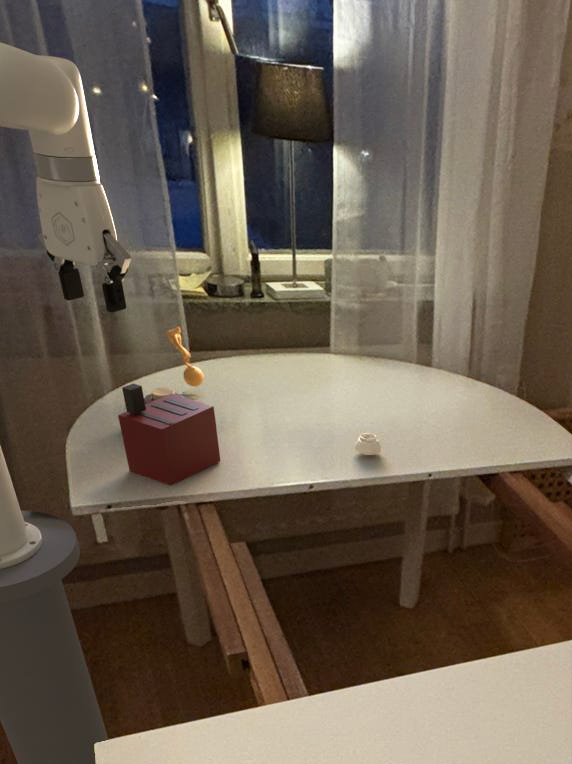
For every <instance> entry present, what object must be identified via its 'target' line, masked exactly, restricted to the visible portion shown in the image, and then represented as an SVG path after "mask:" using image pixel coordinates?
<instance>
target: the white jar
mask: <svg viewBox="0 0 572 764" xmlns="http://www.w3.org/2000/svg"><path fill="white" fill-rule="evenodd" d="M353 448H354V450H355V452H357V453H359V454H361V455H364V456H365V455H367V456H371V455H377V454H379V453H381V452H382V449H383V447H382V445H381V443H380V441H379V439H378V437H377V435H376V434H374V433H372V432H364V433H360V434H359V437H358V438H357V440H356V442H355V444H354V447H353Z"/></svg>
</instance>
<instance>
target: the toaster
mask: <svg viewBox="0 0 572 764" xmlns="http://www.w3.org/2000/svg"><path fill="white" fill-rule="evenodd" d="M182 396H183V395H182ZM182 396H179V395H176V394H169V395H167V396H164V397H162V398H159V399H157V400H154V401H152V402H149V403H147V404H145V407H146V410H145V411H142V412H140V413H138V414H132V413H129V412H127V411H125V412H122V413H120V414H118V416H117V417H118V421H119V427H120V432H121V436H122V441H123V447H124V452H125V455H126V460H127V466H128V471H129V473H131V474H135V475H138V476H141V477H144V478H146V477H147V479H149V478H150V479H149V480H153V481H155V482H159V483H162V484H163V485H164V484H165V485H167V486H170V487H173V486H175V485H176V484H178V483H181V482H182V481H185V480H186V479H189V478H190V477H193V476H195V475H197V474H199V473H200V472H202V471H204V470H207V469H208V468H210V467H211V466H214V465H216V464H217V463H220V462H221V453H220V445H219V438H218V431H217V422H216V415H215V407H214V406H213V405H211V404H208V403H204V402H201V401H198V400H195V399H192V398H188V397H185V396H183V397H182Z"/></svg>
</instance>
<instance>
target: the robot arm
mask: <svg viewBox="0 0 572 764" xmlns="http://www.w3.org/2000/svg"><path fill="white" fill-rule="evenodd" d="M89 119H90V118H89V114H88V109H87V102H86V97H85V93H84V87H83V82H82V77H81V73H80V70H79V68H78V67H77V65H76V64H75V63H74V62H73V61H71V60H70V59H67V58H64V57H59V56H50V55H41V54H40V55H39V54H34V53H31V52H29V51H26V50H23V49H21V48H18V47H16V46H12V45H10V44H7V43H3V42H1V41H0V127H2V128H9V129H13V130H22V131H28V134H29V138H30V143H31V148H32V151H33V156H34V160H35V161H34V162H35V165H36V170H37V174H38V176H37V177H35V178H36V181H35V182H36V183H35V184H36V199H37V200H36V201H37V209H38V215H39V221H40V227H41V231H40V233H38V235H37V236H38V240H39V241H40V243H41V244H42V246H43V248H44V249H45V250H46V254H47V256H48V257H49V259H50V260H51V261H52V262H53V264H52V265H53V268H54V270H55V271H57V273H58V277H59V283H60V287H61V291H62V295H63V299H64V300H65V301H73V300H78V299H80V298H81V299H82V298H84V296H85V293H84V289H83V288H84V287H83V284H82V279H81V273H80V271H79V268H78V267H75V266H76V263H78V264H81V265H86V266H89V267H91V266H92V267H94V266H95V267H96V269H97V271H98V272H99V275H100V276H101V277H102V279H103V281H104V282H102V283H101V287H102V293H103V297H104V303H105V309H106V311H107V312H108V313H111V314H112V313H115V312H119V311H123V310H125V309H127V302H126V297H125V292H124V286H123V282H124V281H125V279H126V275H127V273H128V271H129V267H130V263H131V261H132V256H131V255H130V253H129V252H128V251H127V250H126V248H124V247H123V246H122V245H121V243H119V242H118V237H117V231H116V228H115V227H116V226H115V223H114V219H113V215H112V211H111V208H110V205H109V201H108V198H107V195H106V191H105V190H104V186H103V184H102V183H101V181H100V174H99V169H98V163H97V158H96V154H95V148H94V147H95V146H94V141H93V137H92V136H93V135H92V131H91V125H90V120H89ZM107 266H109V268H110V270H108V268H107ZM42 542H43V540H42V536H41V533H40V531H39V529H38V528H37V527H35V526H34V525H32V524H30V523H27V522H24V519H23V516H22V513H21V507H20V503H19V500H18V497H17V494H16V491H15V487H14V484H13V481H12V477H11V474H10V471H9V468H8V465H7V461H6V459H5V456H4V453H3V449H2V445H0V569H3V568H7V567H10V566H14V565H16V564H19V563H21V562H23V561H25V560H27V559H29V558H30V557H32V556H33V555H34V554H35V553H36V552H37V551H38V550H39V549H40V547H41V546H42Z"/></svg>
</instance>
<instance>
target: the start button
mask: <svg viewBox="0 0 572 764" xmlns="http://www.w3.org/2000/svg"><path fill="white" fill-rule="evenodd" d="M150 392H151V393H150V394H152V398H153V401H154V400H157V399H159V398H162V397H164V396H167V395H169V394H175V393H176V392H175V390H174V389H173V388H169V387H156V388H154V389H152V390H151V391H150ZM174 392H175V393H174Z"/></svg>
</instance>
